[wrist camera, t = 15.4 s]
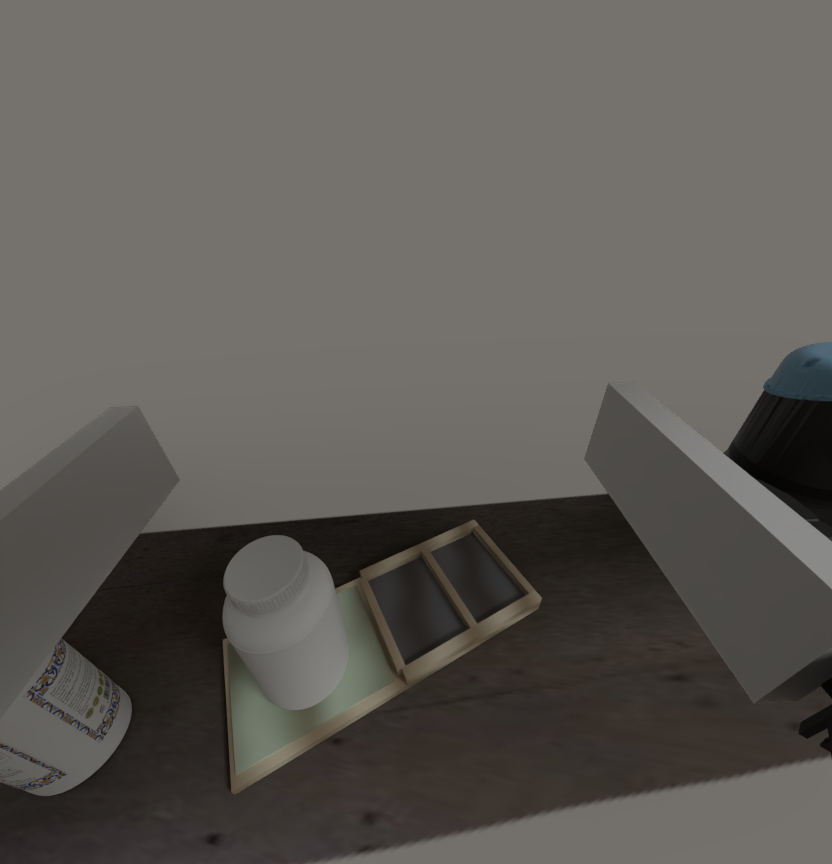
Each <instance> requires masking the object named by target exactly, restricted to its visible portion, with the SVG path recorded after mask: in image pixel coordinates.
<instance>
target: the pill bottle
mask: <svg viewBox="0 0 832 864" xmlns="http://www.w3.org/2000/svg"><path fill="white" fill-rule="evenodd" d="M223 581H224V582H223V585H224V590H225V592H226V594H227V596H226V599H225V602H224V607H223V627H224V631H225V633H226V636H227V638H228V639H229V641H230V643H231V644H232V646H233V647H234V649H235V650H236V652H237V653H238V654H239V656H240V657H241V659H242V660H243V662H244V663H245V665H246V666H247V668H248V669H249V671H250V672H251V674H252V675H253V677H254V678H255V680H256V681H257V683H258V684H259V686H260V687H261V689H262V690H263V692H264V693H265V694H266V696H267V697H268V698H269V699H270V700H271V701H272V702H273V703H274V704H276V705H277V706H279V707H281V708H284V709H288V710H302V709H306V708H309V707H312V706H314V705H316V704H318V703H320V702H321V701H323V700H324V699H325V698H326V697H328V696H329V695H330V694H331V693H332V692H333V691H334V689H335V688H336V687H337V685H338V684H339V682H340V681H341V679H342V677H343V675H344V673H345V670H346V667H347V664H348V659H349V641H348V637H347V633H346V629H345V625H344V621H343V618H342V614H341V610H340V606H339V602H338V599H337V595H336V591H335V587H334V583H333V580H332V577H331V574H330V572H329V570H328V568H327V566H326V565H325V564H324V563H323V562H322V561H321V560H320V559H319V558H318V557H316V556H315V555H313V554H311V553H309V552H306V551H303V549H302V547H301V546H300V544H298V542H296V540H294V539H292V538H290V537H287V536H282V535H272V536H266V537H263V538H260V539H257V540H255V541H253V542H251V543H249V544H248V545H246V546H245V547H243V548H242V549H241V550H240V551H239V552H238V553H237V554H236V555H235V556H234V557H233V558H232V560H231V561H230V563H229V564H228V566H227V568H226V571H225V574H224V579H223Z"/></svg>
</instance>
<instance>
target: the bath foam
mask: <svg viewBox="0 0 832 864" xmlns="http://www.w3.org/2000/svg"><path fill="white" fill-rule="evenodd" d="M131 714H132V704H131V700H130V697H129V696H128V694H127V693H126V692H125V691H124V690H123V689H122V688H120V687H119V686H118V685H117V684H116V683H115V682H114V681H112V680H111V679H110V678H109V677H108V676H106V675H105V674H104V673H103V672H102V671H100V670H99V669H98V668H97V667H96V666H94V665H93V664H92V663H91V662H90V661H88V660H87V659H86V658H85V657H84V656H82V655H81V654H80V653H79V652H77V651H76V650H75V649H74V648H73V647H71V646H70V645H69V644H68V643H67V642H65V641H64V640H63V639H62V638H61V639H60V640H59V642H58V643H57V644H56V646H55V647H54V648H53V650H52V651H51V652H50V654H49V655H48V656H47V658H46V659H45V660H44V662H43V663H42V664H41V666H40V667H39V668H38V670H37V671H36V672H35V674H34V675H33V676H32V678H31V679H30V680H29V682H28V683H27V684H26V686H25V687H24V688H23V690H22V691H21V692H20V694H19V695H18V696H17V698H16V699H15V700H14V702H13V703H12V704H11V706H10V707H9V708H8V710H7V711H6V712H5V714H4V715H3V716H2V718H1V719H0V782H1V783H4V784H7V785H9V786H12V787H15V788H17V789H21V790H24V791H27V792H29V793H32V794H35V795H39V796H51V795H56V794H60V793H63V792H65V791H67V790H70V789H72V788H73V787H75V786H77V785H79V784H80V783H82V782H83V781H85V780H86V779H87V778H89V777H90V776H91V775H92V774H94V773H95V772H96V771H97V770H98V769H99V768H100V767H101V766H102V765H103V764H104V763H105V762H106V761H107V760H108V759H109V757H110V756H111V755H112V754H113V752H114V751H115V750H116V748H117V747H118V745H119V744H120V742H121V740H122V739H123V737H124V735H125V733H126V731H127V728H128V726H129V723H130V719H131Z"/></svg>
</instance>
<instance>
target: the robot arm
mask: <svg viewBox="0 0 832 864" xmlns="http://www.w3.org/2000/svg"><path fill="white" fill-rule="evenodd" d="M763 388H764V389H765V390H764V391H763V393H762V395H761V396H760V398H759V400H758V401H757V403H756V404H755V406H754V408H753V409H752V411H751V412H750V414H749V415H748V417H747V419H746V420H745V422H744V423H743V425H742V427H741V428H740V430H739V431H738V433H737V435H736V437H735V438H734V440H733V441H732V443H731V445H730V446H729V448H728V449H727V450H726V451H725V452H724V453H722V452H721V451H720V450H718V449H717V448H716V447H715V446H714V445H712V444H711V443H710V442H709V441H707V440H706V439H705V438H704V437H702V436H701V435H700V434H699V433H698V432H696V431H695V430H694V429H693V428H691V427H690V426H689V425H688V424H686V423H685V422H684V421H683V420H681V419H680V418H679V417H678V416H677V415H675V414H674V413H673V412H672V411H670V410H669V409H668V408H666V407H665V406H664V405H663V404H662V403H661V402H659V401H658V400H657V399H656V398H654V397H653V396H652V395H651V394H649V393H648V392H647V391H646V390H645V389H643V388H642V387H641V386H640V385H638V384H637V383H636V382H620V383H608V386H607V389H606V392H605V395H604V398H603V401H602V405H601V408H600V411H599V414H598V417H597V420H596V424H595V427H594V430H593V433H592V436H591V440H590V443H589V446H588V450H587V452H586V456H585V460H586V462H587V463H588V465H589V466H590V468H591V469H592V470H593V472H594V473H595V475H596V476H597V478H598V479H599V480H600V482H601V483H602V485H603V486H604V488H605V489H606V491H607V492H608V494H609V495H610V496H611V498H612V499H613V501H614V502H615V504H616V505H617V507H618V508H619V509H620V511H621V512H622V514H623V515H624V517H625V518H626V520H627V521H628V522H629V524H630V525H631V527H632V528H633V530H634V531H635V533H636V534H637V535H638V537H639V538H640V540H641V541H642V543H643V544H644V546H645V547H646V548H647V550H648V551H649V553H650V554H651V556H652V557H653V559H654V560H655V561H656V563H657V564H658V566H659V567H660V569H661V570H662V572H663V573H664V574H665V576H666V577H667V579H668V580H669V582H670V583H671V585H672V586H673V587H674V589H675V590H676V592H677V593H678V595H679V596H680V598H681V599H682V600H683V602H684V603H685V605H686V606H687V608H688V609H689V611H690V612H691V613H692V615H693V616H694V618H695V619H696V621H697V622H698V624H699V625H700V627H701V628H702V629H703V631H704V632H705V634H706V635H707V637H708V638H709V640H710V641H711V642H712V644H713V645H714V647H715V648H716V650H717V651H718V653H719V654H720V655H721V657H722V658H723V660H724V661H725V663H726V664H727V666H728V667H729V668H730V670H731V671H732V673H733V674H734V676H735V677H736V679H737V680H738V681H739V683H740V684H741V686H742V687H743V689H744V690H745V692H746V693H747V694H748V696H749V697H750V699H751V700H752V702H753V703H754V704H756V703H771V702H787V701H798V700H800V699H801V698H803V697H804V696H806V695H807V694H809V693H811V692H812V691H814V690H815V689H817V688H818V687H820V686H822V688H823V689H824V690H825V691H826V692H827V693H828V695H829V696H830V697H831V698H832V342H824V343H816V344H811V345H808V346H804V347H801V348H799V349H796V350H794V351H793V352H791V353H790V354H789V355H787V356H786V357H785V358H784V360H783V361H782V362H781V364H780V365H779V367H778V368H777V370H776V371H775V373H774V374H773V376H772V377H771V378H770V379H768V380H767V381H766V382H765V384H764V386H763ZM179 480H180V479H179V477H178V476H177V474H176V472H175V470H174V469H173V467H172V465H171V464H170V462H169V460H168V458H167V456H166V455H165V453H164V451H163V449H162V447H161V446H160V444H159V442H158V440H157V439H156V437H155V435H154V433H153V431H152V430H151V428H150V426H149V425H148V422H147V421H146V419H145V417H144V415H143V414H142V412H141V410H140V408H139V407H138V406H127V407H110V408H109V409H107V410H106V411H105V412H103V413H102V414H101V415H99V416H98V417H97V418H95V419H94V420H93V421H91V422H90V423H89V424H87V425H86V426H85V427H84V428H82V429H81V430H80V431H78V432H77V433H76V434H74V435H73V436H72V437H71V438H69V439H68V440H67V441H65V442H64V443H62V444H61V445H60V446H59V447H57V448H56V449H54V450H53V451H52V452H50V453H49V454H48V455H47V456H45V457H44V458H43V459H41V460H40V461H39V462H37V463H36V464H35V465H33V466H32V467H31V468H29V469H28V470H27V471H25V472H24V473H23V474H21V475H20V476H19V477H17V478H16V479H15V480H14V481H12V482H11V483H10V484H8V485H7V486H6V487H4V488H3V489H2V490H0V719H1V718H2V716H3V715H4V714H5V712H6V711H7V710H8V708H9V707H10V706H11V704H12V703H13V702H14V700H15V699H16V698H17V696H18V695H19V694H20V692H21V691H22V690H23V688H24V687H25V686H26V684H27V683H28V682H29V680H30V679H31V678H32V676H33V675H34V674H35V672H36V671H37V670H38V668H39V667H40V666H41V664H42V663H43V662H44V660H45V659H46V658H47V656H48V655H49V654H50V652H51V651H52V650H53V648H54V647H55V646H56V644H57V643H58V642H59V640H60V639H61V638H62V636H63V635H64V634H65V632H66V631H67V630H68V628H69V627H70V626H71V624H72V623H73V622H74V620H75V619H76V618H77V616H78V615H79V614H80V612H81V611H82V610H83V608H84V607H85V606H86V604H87V603H88V602H89V600H90V599H91V598H92V596H93V595H94V594H95V592H96V591H97V590H98V588H99V587H100V586H101V584H102V583H103V582H104V580H105V579H106V578H107V576H108V575H109V574H110V572H111V571H112V570H113V568H114V567H115V566H116V564H117V563H118V562H119V560H120V559H121V558H122V556H123V555H124V554H125V552H126V551H127V550H128V548H129V547H130V546H131V544H132V543H133V542H134V540H135V539H136V538H137V536H138V535H139V534H140V532H141V531H142V530H143V528H144V527H145V526H146V524H147V523H148V522H149V520H150V519H151V518H152V516H153V515H154V514H155V512H156V511H157V510H158V508H159V507H160V506H161V505H162V503H163V502H164V501H165V499H166V498H167V496H168V495H169V494H170V493H171V491H172V490H173V489H174V487H175V486H176V485H177V483H178V482H179ZM827 728H828V734H829V737H828V738H826V739H825V740H824V741H823V742H822V743H821V744H820V746H821V747H823V748H824V749H826V750H828V751H829V752H831V756H832V705H830V706H828V707H826V708H825V709H823V710H821V711H819V712H818V713H816V714H814V715H813V716H811V717H809V718H807V719H806V720H804V721H802V722H801V724H800V729H799V733H798V734H800V735H802V736H803V737H805V738H807V739H808V738H810V737H812V736H813V735H815V734H817V733H819V732H821V731H823V730H825V729H827Z"/></svg>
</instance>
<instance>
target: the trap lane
mask: <svg viewBox="0 0 832 864" xmlns="http://www.w3.org/2000/svg"><path fill="white" fill-rule="evenodd" d="M359 572H360V578H358V579H355V580H353V581H351V582H349V583H347V584H345V585H342V586H340V587H338V588H336V589H335V591H336V595H337V599H338V602H339V606H340V610H341V614H342V618H343V621H344V625H345V629H346V633H347V637H348V641H349V659H348V664H347V667H346V670H345V673H344V675H343V677H342V679H341V681H340V682H339V684H338V685H337V687H336V688H335V689H334V691H333V692H332V693H331V694H330V695H329V696H328V697H326V698H325V699H324V700H323V701H321V702H320V703H318V704H316V705H314V706H312V707H309V708H306V709H302V710H288V709H284V708H281V707H279V706H277V705H276V704H274V703H273V702H272V701H271V700H270V699H269V698H268V697H267V696H266V694H265V693H264V692H263V690H262V689H261V687H260V686H259V684H258V683H257V681H256V680H255V678H254V677H253V675H252V674H251V672H250V671H249V669H248V668H247V666H246V665H245V663H244V662H243V660H242V659H241V657H240V656H239V654H238V653H237V652H236V650H235V649H234V647H233V646H232V644H231V643H230V641H229V639H228V638H226V639H224V640H223V654H224V672H225V689H226V706H227V724H228V741H229V759H230V776H231V792H232V793H233V794H234V795H235V794H237V793H239V792H240V791H242V790H244V789H245V788H247V787H248V786H250V785H252V784H253V783H255V782H257V781H258V780H260V779H262V778H263V777H265V776H266V775H268V774H270V773H271V772H273V771H275V770H276V769H278V768H279V767H281V766H283V765H284V764H286V763H288V762H289V761H291V760H292V759H294V758H296V757H297V756H299V755H301V754H302V753H304V752H306V751H307V750H309V749H310V748H312V747H314V746H315V745H317V744H319V743H320V742H322V741H323V740H325V739H327V738H328V737H330V736H332V735H333V734H335V733H337V732H338V731H340V730H341V729H343V728H345V727H346V726H348V725H350V724H351V723H353V722H354V721H356V720H358V719H359V718H361V717H363V716H364V715H366V714H367V713H369V712H371V711H372V710H374V709H376V708H377V707H379V706H381V705H382V704H384V703H385V702H387V701H389V700H390V699H392V698H394V697H395V696H397V695H398V694H400V693H402V692H403V691H405V690H407V689H408V688H410V687H412V686H413V685H415V684H416V683H418V682H420V681H421V680H423V679H425V678H426V677H428V676H429V675H431V674H433V673H434V672H436V671H438V670H439V669H441V668H442V667H444V666H446V665H447V664H449V663H451V662H452V661H454V660H456V659H457V658H459V657H460V656H462V655H464V654H465V653H467V652H469V651H470V650H472V649H473V648H475V647H477V646H478V645H480V644H482V643H483V642H485V641H487V640H488V639H490V638H491V637H493V636H495V635H496V634H498V633H500V632H501V631H503V630H504V629H506V628H508V627H509V626H511V625H513V624H514V623H516V622H517V621H519V620H521V619H522V618H524V617H526V616H527V615H529V614H531V613H532V612H534V611H535V610H537V609H539V606H540V603H541V600H542V597H541V596H540V595H539V594H538V593H537V592H536V591H535V589H534V588H533V587H532V586H531V585H530V584H529V582H528V581H527V580H526V579H525V578H524V577H523V575H522V574H521V573H520V572H519V571H518V570H517V569H516V567H515V566H514V565H513V564H512V563H511V562H510V560H509V559H508V558H507V557H506V556H505V555H504V553H503V552H502V551H501V550H500V549H499V548H498V547H497V545H496V544H495V543H494V542H493V541H492V540H491V538H490V537H489V536H488V535H487V534H486V533H485V531H484V530H483V529H482V528H481V527H480V526H479V525H478V523H477V522H476V521H475V520H472V521H470V522H467V523H465V524H463V525H461V526H458V527H456V528H454V529H452V530H449V531H447V532H445V533H443V534H441V535H438V536H436V537H434V538H432V539H429V540H427V541H425V542H423V543H420V544H418V545H416V546H414V547H411V548H409V549H407V550H405V551H403V552H400V553H398V554H396V555H394V556H391V557H389V558H387V559H385V560H382V561H380V562H378V563H376V564H374V565H371V566H369V567H367V568H365V569H362V570H360V571H359Z"/></svg>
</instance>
